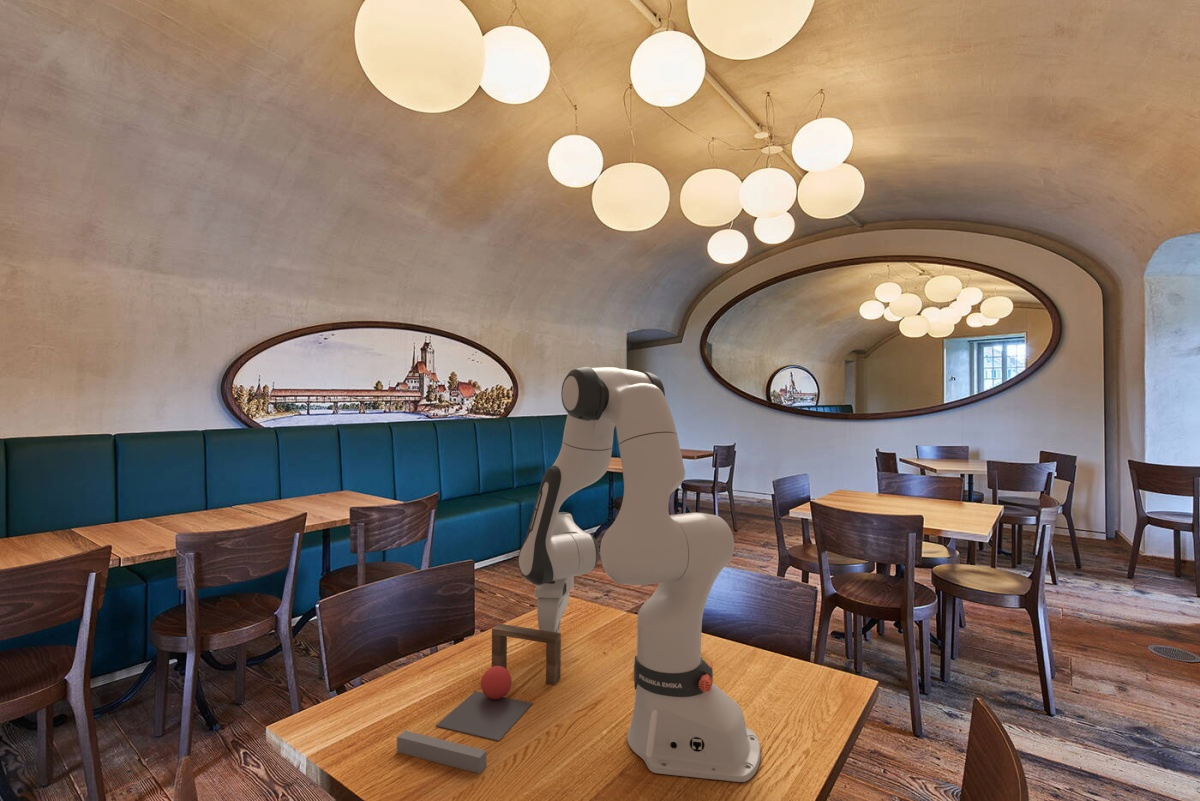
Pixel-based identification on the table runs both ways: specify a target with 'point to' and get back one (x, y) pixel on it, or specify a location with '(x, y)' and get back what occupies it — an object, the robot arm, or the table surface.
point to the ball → (496, 682)
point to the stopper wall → (442, 751)
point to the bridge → (549, 638)
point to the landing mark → (485, 716)
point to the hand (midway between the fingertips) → (554, 637)
